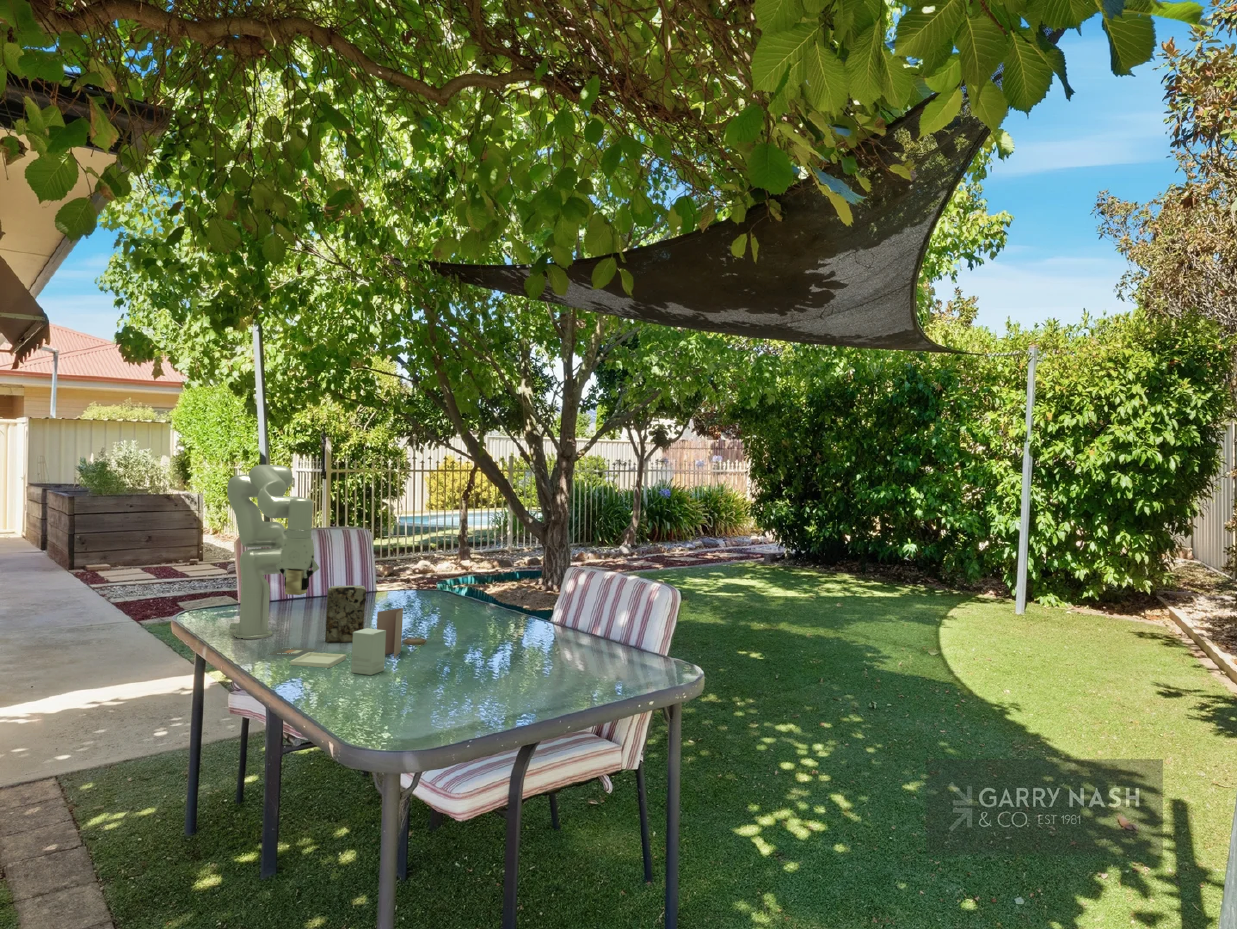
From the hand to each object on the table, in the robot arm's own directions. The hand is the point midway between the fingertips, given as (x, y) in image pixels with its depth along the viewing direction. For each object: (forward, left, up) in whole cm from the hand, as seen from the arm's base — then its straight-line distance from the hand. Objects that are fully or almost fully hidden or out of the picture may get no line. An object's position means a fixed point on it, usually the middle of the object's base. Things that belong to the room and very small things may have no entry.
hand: (296, 588), depth 265 cm
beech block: (0, 0, -2) cm, 2 cm away
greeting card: (+33, +5, -22) cm, 40 cm away
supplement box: (+33, -18, -22) cm, 43 cm away
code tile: (0, 0, -21) cm, 21 cm away
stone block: (+9, +20, -22) cm, 31 cm away
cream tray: (+14, -11, -21) cm, 28 cm away
